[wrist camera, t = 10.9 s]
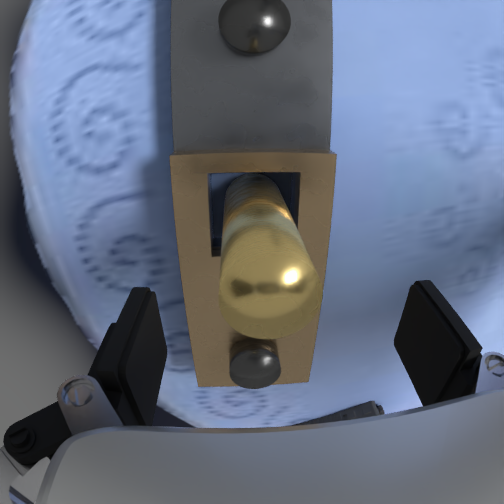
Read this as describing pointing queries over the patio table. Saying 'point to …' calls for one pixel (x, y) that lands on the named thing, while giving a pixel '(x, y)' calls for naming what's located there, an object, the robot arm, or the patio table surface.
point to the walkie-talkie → (350, 414)
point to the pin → (264, 263)
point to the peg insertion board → (249, 159)
